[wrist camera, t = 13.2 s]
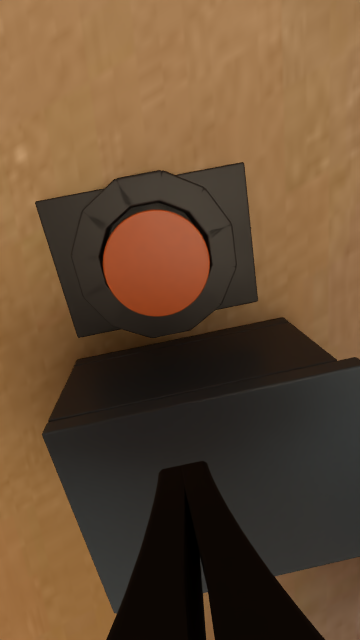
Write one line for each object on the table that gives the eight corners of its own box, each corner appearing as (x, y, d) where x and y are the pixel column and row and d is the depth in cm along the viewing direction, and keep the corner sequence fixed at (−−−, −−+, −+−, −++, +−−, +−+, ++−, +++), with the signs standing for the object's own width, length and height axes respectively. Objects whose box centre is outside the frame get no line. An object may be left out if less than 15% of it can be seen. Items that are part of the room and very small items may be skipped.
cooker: (283, 317, 19) (338, 359, 14) (294, 465, 23) (339, 544, 17) (76, 359, 19) (47, 420, 13) (123, 502, 23) (115, 595, 17)
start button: (194, 201, 14) (201, 199, 12) (209, 295, 15) (216, 306, 14) (96, 219, 14) (89, 221, 12) (120, 313, 15) (117, 326, 14)
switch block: (237, 162, 16) (256, 151, 13) (252, 298, 18) (270, 314, 16) (41, 199, 16) (18, 196, 13) (82, 333, 18) (70, 355, 15)
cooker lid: (356, 356, 14) (368, 364, 13) (354, 541, 18) (363, 556, 17) (46, 421, 13) (40, 434, 12) (115, 596, 17) (113, 614, 16)
